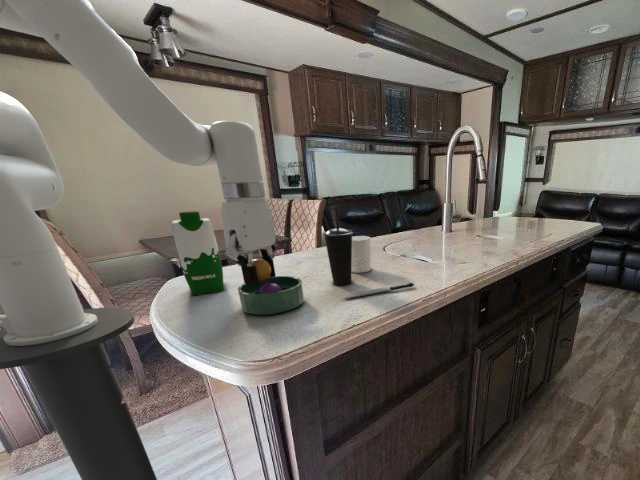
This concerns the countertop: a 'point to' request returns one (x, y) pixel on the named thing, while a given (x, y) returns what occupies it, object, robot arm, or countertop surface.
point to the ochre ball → (262, 269)
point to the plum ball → (269, 288)
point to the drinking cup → (339, 253)
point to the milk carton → (198, 253)
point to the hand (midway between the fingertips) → (260, 279)
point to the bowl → (272, 296)
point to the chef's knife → (379, 290)
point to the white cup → (361, 254)
